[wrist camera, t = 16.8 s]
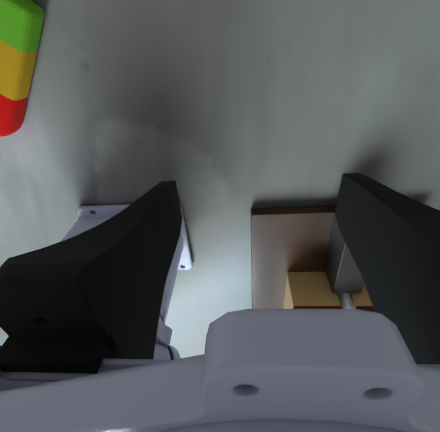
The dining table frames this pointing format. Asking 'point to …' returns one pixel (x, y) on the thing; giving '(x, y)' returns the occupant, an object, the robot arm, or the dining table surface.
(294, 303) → the cake
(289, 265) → the board
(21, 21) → the popsicle
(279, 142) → the dining table surface
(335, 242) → the cake knife
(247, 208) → the dining table surface
